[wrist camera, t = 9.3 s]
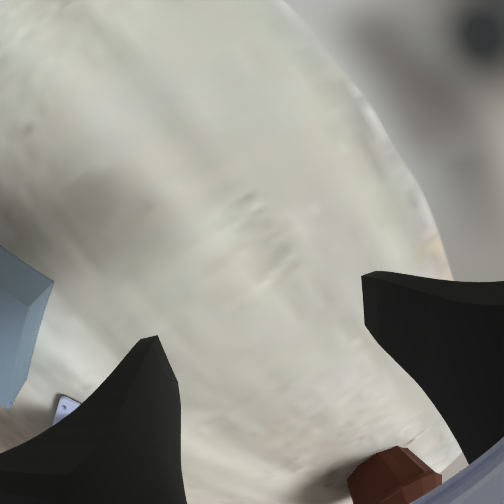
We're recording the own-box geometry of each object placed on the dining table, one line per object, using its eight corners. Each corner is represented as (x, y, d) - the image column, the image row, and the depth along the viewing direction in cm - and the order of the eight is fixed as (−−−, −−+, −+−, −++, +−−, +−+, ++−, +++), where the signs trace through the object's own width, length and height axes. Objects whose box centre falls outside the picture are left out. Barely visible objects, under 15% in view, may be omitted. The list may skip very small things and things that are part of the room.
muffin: (430, 434, 31) (471, 482, 21) (387, 486, 33) (417, 532, 23) (364, 444, 27) (407, 509, 18) (319, 498, 30) (347, 557, 20)
